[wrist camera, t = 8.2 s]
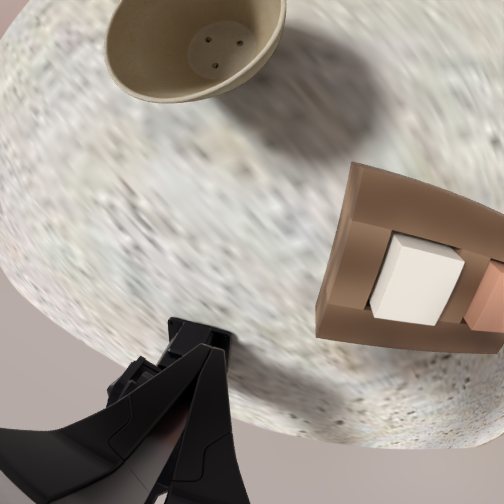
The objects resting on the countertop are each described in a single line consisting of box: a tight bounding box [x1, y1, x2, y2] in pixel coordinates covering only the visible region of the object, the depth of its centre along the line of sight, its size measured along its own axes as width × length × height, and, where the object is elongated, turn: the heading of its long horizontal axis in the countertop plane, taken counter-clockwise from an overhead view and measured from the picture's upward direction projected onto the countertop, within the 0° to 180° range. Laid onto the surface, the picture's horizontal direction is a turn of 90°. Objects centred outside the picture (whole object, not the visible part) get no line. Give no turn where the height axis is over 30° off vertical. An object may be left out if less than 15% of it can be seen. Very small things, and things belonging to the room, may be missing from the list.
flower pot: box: [104, 0, 286, 103], centre depth 12 cm, size 10×10×7 cm
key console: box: [316, 162, 504, 354], centre depth 17 cm, size 12×20×4 cm, turn 83°
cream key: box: [368, 230, 465, 326], centre depth 15 cm, size 5×5×3 cm
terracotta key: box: [463, 258, 504, 333], centre depth 14 cm, size 5×5×3 cm
